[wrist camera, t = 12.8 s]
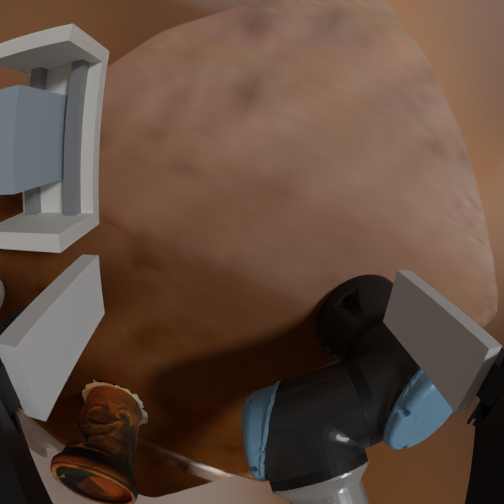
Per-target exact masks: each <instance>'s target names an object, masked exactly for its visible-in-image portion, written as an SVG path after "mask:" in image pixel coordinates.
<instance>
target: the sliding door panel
mask: <svg viewBox="0 0 504 504" xmlns="http://www.w3.org/2000/svg"><path fill="white" fill-rule="evenodd" d="M67 99H68V96H65V95H61V94H57V93H54V92H49V91H45V90H41V89H37V88H33V87H28V86H23V85H15V86H12V87H7V88H4V89H0V195H8V194H17V193H20V192H23V191H26V190H29V189H32V188H36V187H39V186H42V185H46V184H49V183H52V182H56V181H60V180H63V179H64V137H65V121H66V109H67Z"/></svg>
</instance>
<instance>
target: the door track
mask: <svg viewBox="0 0 504 504" xmlns="http://www.w3.org/2000/svg"><path fill="white" fill-rule="evenodd" d="M108 57H109V51H108V50H107V49H105V48H104V47H103V46H102V45H100V44H99V43H98V42H97V41H95V40H94V39H93V38H91V37H90V36H89V35H87V34H86V33H85V32H83V31H82V30H80V29H79V28H78V27H77V26H75V25H74V24H68V25H63V26H59V27H55V28H50V29H46V30H43V31H39V32H36V33H32V34H28V35H25V36H22V37H18V38H15V39H12V40H9V41H6V42H3V43H1V44H0V66H3V67H7V68H11V69H14V70H18V71H22V72H25V73H28V74H29V77H28V84H27V86H28V87H33V88H37V89H41V90H45V91H49V92H54V93H57V94H61V95H65V96H68V99H67V109H66V121H65V137H64V179H63V180H60V181H56V182H52V183H49V184H46V185H42V186H39V187H36V188H32V189H29V190H26V191H23V192H22V194H23V213H20V214H18V215H16V216H13V217H11V218H9V219H7V220H5V221H3V222H0V249H12V250H26V251H40V252H55V253H61V252H62V251H63V250H65V249H66V248H67V247H69V246H70V245H71V244H73V243H74V242H75V241H77V240H78V239H79V238H81V237H82V236H83V235H85V234H86V233H88V232H89V231H90V230H92V229H93V228H94V227H96V226H97V225H99V200H98V176H99V144H100V127H101V114H102V103H103V94H104V85H105V77H106V70H107V63H108Z"/></svg>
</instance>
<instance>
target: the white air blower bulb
mask: <svg viewBox="0 0 504 504" xmlns="http://www.w3.org/2000/svg"><path fill="white" fill-rule="evenodd" d="M4 294H5V290H4V286H3V283H2V281H1V279H0V308H1V306H2V303H3V300H4Z"/></svg>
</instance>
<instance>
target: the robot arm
mask: <svg viewBox="0 0 504 504" xmlns="http://www.w3.org/2000/svg"><path fill="white" fill-rule="evenodd" d="M104 314H105V312H104V304H103V297H102V288H101V279H100V268H99V256H98V255H81V256H80V257H79V258H78V259H77V260H76V261H75V262H74V263H73V264H71V265H70V266H69V267H68V268H67V269H66V270H65V271H64V272H63V273H62V274H61V275H60V276H58V277H57V278H56V279H55V280H54V281H53V282H52V283H51V284H50V285H49V286H48V287H47V288H46V289H45V290H44V291H43V292H42V293H41V294H40V295H39V296H38V297H37V298H36V299H35V300H34V301H33V302H32V303H31V304H30V305H25V306H23V307H22V308H20V309H18V310H16V311H15V312H14V313H13V314H12V315H11V316H10V317H9V318H8V320H6V321H5V322H4V323H3V324H2V326H0V504H53V503H52V501H51V500H50V497H49V495H48V493H47V491H46V489H45V486H44V484H43V482H42V480H41V477H40V475H39V473H38V470H37V468H36V466H35V463H34V461H33V458H32V456H31V453H30V450H29V448H28V445H27V442H26V439H25V436H24V433H23V430H22V427H21V424H20V421H19V418H18V416H17V414H16V412H15V409H16V407H17V406H18V404H19V402H20V404H21V406H22V408H23V410H24V412H25V414H26V416H29V417H32V418H36V419H39V420H42V421H47V419H48V416H49V414H50V412H51V410H52V408H53V406H54V404H55V402H56V400H57V398H58V396H59V394H60V392H61V390H62V389H63V387H64V385H65V383H66V381H67V379H68V377H69V375H70V373H71V372H72V370H73V368H74V366H75V364H76V362H77V361H78V359H79V357H80V355H81V353H82V352H83V350H84V348H85V346H86V345H87V343H88V341H89V339H90V338H91V336H92V334H93V332H94V331H95V329H96V327H97V326H98V324H99V322H100V321H101V319H102V317H103V316H104ZM317 328H318V334H319V338H320V340H321V342H322V344H323V346H324V348H325V349H326V351H327V352H328V353H329V354H330V355H331V356H332V357H334V358H335V359H337V360H339V361H340V362H338V363H335V364H333V365H330V366H328V367H325V368H322V369H319V370H317V371H314V372H311V373H308V374H305V375H302V376H299V377H296V378H293V379H289V380H286V381H283V382H282V381H278V382H276V384H274V385H271V386H268V387H265V388H262V389H260V390H257V391H254V392H252V393H251V394H250V395H249V396H248V397H247V399H246V400H245V403H244V406H243V411H242V437H243V445H244V451H245V456H246V460H247V463H248V465H249V466H250V471H251V474H252V476H253V477H254V478H255V479H256V480H261V481H267V480H269V482H270V485H271V488H272V492H273V493H274V494H276V495H278V496H280V497H282V498H285V499H286V500H288V501H289V502H290V504H369V503H368V500H367V497H366V494H365V491H364V488H363V485H362V482H361V477H362V474H363V473H364V471H365V469H366V467H367V465H368V464H369V461H368V458H367V455H366V452H365V448H367V447H370V446H372V445H375V444H377V443H379V442H382V441H384V442H385V443H386V444H387V445H388V446H390V447H391V448H393V449H401V448H409V447H411V446H414V445H416V444H418V443H419V442H421V441H423V440H424V439H426V438H427V437H428V436H430V435H431V434H432V433H433V432H435V431H436V430H437V429H438V428H439V427H440V426H441V425H442V424H443V423H444V422H445V421H446V420H447V418H448V417H449V416H450V414H451V413H452V412H453V411H454V412H459V411H462V410H464V409H467V408H469V407H470V405H471V403H472V401H473V400H474V398H475V397H476V395H477V396H478V397H479V398H480V402H479V404H478V405H477V407H476V408H475V410H474V412H473V413H472V415H471V416H470V418H469V419H468V422H467V424H470V422H471V421H472V419H474V418H476V420H475V422H474V423H473V425H474V426H475V437H474V448H473V457H472V465H471V472H470V478H469V484H468V490H467V496H466V500H465V504H504V349H503V348H502V346H501V345H500V344H499V343H498V342H497V341H496V340H495V339H494V338H492V337H491V336H490V335H489V334H488V333H487V332H486V331H484V330H483V329H482V328H481V327H480V326H479V325H477V324H476V323H475V322H474V321H473V320H472V319H470V318H469V317H468V316H467V315H466V314H464V313H463V312H462V311H461V310H460V309H458V308H457V307H456V306H455V305H453V304H452V303H451V302H450V301H448V300H447V299H446V298H445V297H443V296H442V295H441V294H440V293H438V292H437V291H436V290H435V289H433V288H432V287H431V286H429V285H428V284H427V283H426V282H424V281H423V280H422V279H420V278H419V277H418V276H416V275H415V274H414V273H413V272H411V271H410V270H397V272H396V276H395V280H394V284H393V283H392V282H391V281H390V280H388V279H387V278H385V277H382V276H378V275H364V276H359V277H356V278H354V279H351V280H349V281H347V282H346V283H344V284H342V285H341V286H340V287H338V288H337V289H336V290H335V291H334V292H333V293H332V294H331V295H330V296H329V298H328V299H327V300H326V302H325V303H324V305H323V307H322V309H321V311H320V314H319V318H318V325H317Z"/></svg>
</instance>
